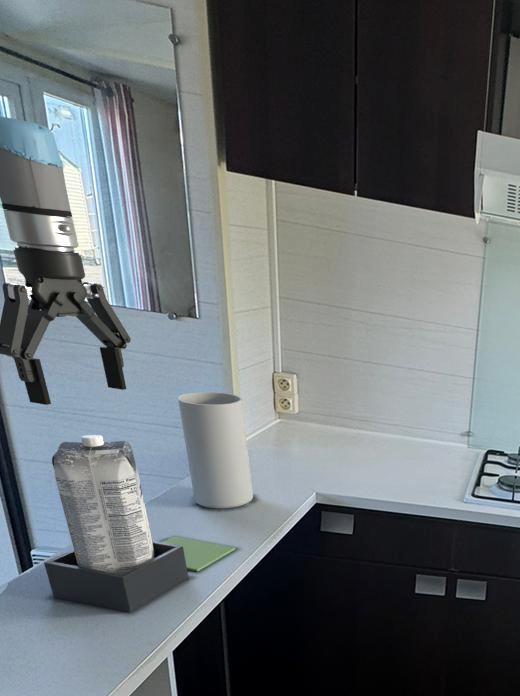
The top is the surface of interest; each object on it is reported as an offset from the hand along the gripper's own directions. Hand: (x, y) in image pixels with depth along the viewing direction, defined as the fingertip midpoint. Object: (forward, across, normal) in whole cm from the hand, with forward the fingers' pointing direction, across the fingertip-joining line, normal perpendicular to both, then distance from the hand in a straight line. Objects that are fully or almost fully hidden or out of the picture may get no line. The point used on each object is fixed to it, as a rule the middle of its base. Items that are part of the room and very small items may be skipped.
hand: (81, 395), depth 99 cm
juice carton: (+34, 0, 0) cm, 34 cm away
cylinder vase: (+35, +43, +12) cm, 57 cm away
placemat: (+35, +15, 0) cm, 38 cm away
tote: (+35, 0, 0) cm, 35 cm away
